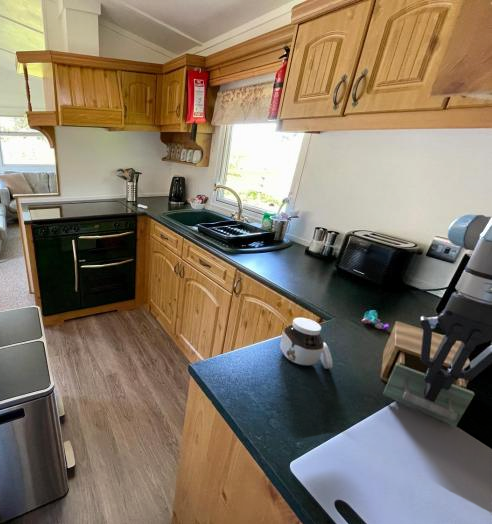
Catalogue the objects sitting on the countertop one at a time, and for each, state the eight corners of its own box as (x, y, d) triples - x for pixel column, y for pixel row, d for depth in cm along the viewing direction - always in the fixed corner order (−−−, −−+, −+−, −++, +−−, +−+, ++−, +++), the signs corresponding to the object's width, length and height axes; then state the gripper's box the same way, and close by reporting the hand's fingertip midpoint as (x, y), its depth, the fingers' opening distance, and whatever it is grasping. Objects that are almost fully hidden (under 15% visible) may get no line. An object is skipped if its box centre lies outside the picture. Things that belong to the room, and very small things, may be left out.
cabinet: (453, 408, 68) (473, 372, 65) (380, 379, 77) (395, 345, 73) (445, 373, 81) (462, 341, 77) (383, 351, 89) (396, 320, 85)
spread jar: (273, 349, 86) (282, 315, 82) (305, 345, 89) (315, 312, 85) (303, 377, 75) (315, 340, 71) (338, 372, 78) (351, 336, 74)
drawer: (460, 446, 58) (480, 413, 55) (381, 410, 65) (395, 379, 62) (447, 388, 74) (463, 359, 71) (385, 364, 81) (397, 337, 78)
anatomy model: (380, 321, 97) (394, 316, 99) (357, 310, 104) (370, 306, 106) (377, 334, 99) (390, 329, 101) (354, 322, 106) (367, 318, 108)
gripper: (436, 291, 55) (389, 389, 63) (544, 318, 47) (476, 426, 55) (432, 281, 60) (390, 372, 68) (529, 304, 52) (469, 404, 60)
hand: (428, 396), depth 62 cm, fingers closed
